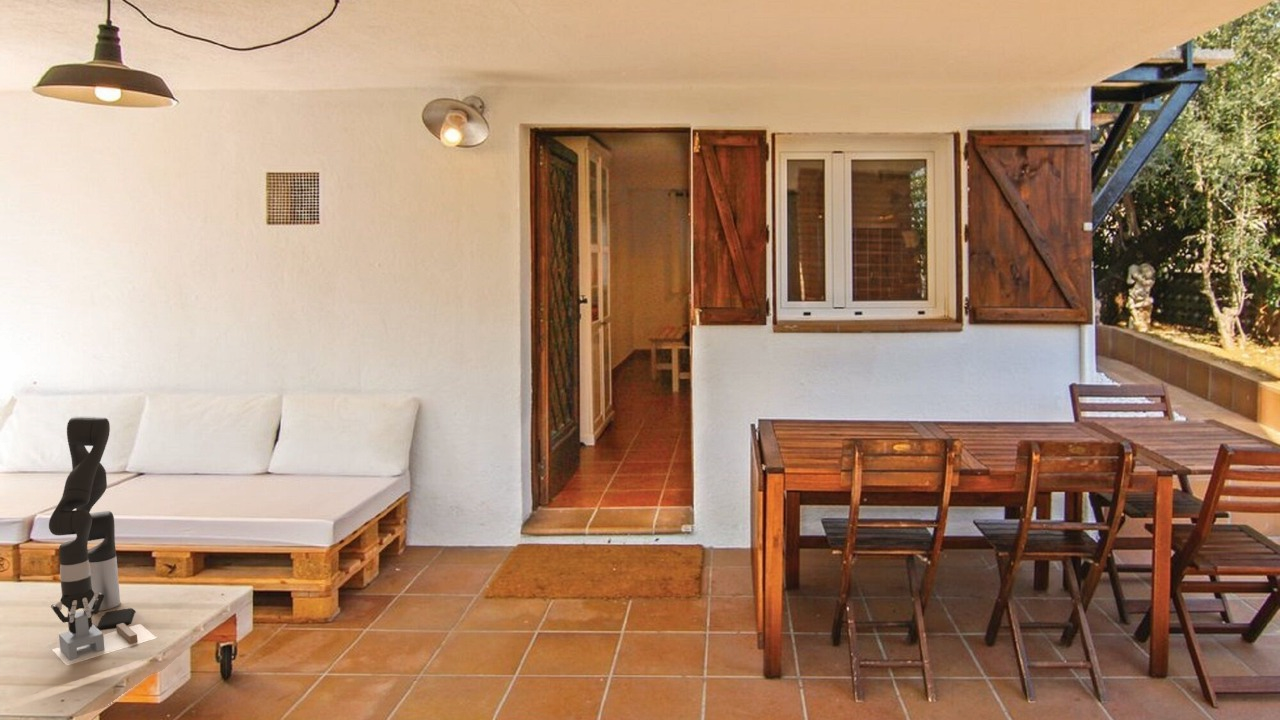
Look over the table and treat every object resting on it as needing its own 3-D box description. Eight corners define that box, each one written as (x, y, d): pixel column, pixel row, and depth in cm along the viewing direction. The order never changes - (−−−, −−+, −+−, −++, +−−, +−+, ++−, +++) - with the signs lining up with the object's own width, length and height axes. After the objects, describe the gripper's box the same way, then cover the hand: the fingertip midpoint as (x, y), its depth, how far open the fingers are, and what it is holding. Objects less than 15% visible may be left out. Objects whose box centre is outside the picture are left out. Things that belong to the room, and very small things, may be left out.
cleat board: (52, 654, 254) (51, 641, 254) (140, 628, 272) (139, 616, 271) (66, 670, 243) (65, 657, 243) (157, 642, 261) (156, 630, 260)
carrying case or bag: (99, 620, 279) (92, 637, 266) (99, 611, 279) (91, 628, 266) (136, 614, 284) (131, 630, 271) (136, 605, 284) (130, 621, 270)
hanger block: (60, 650, 253) (57, 615, 252) (94, 640, 259) (91, 605, 258) (69, 660, 246) (66, 624, 245) (104, 650, 253) (101, 614, 252)
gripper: (98, 566, 258) (103, 620, 260) (44, 579, 248) (49, 635, 250) (106, 572, 253) (111, 627, 255) (51, 585, 243) (56, 642, 244)
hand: (80, 630), depth 252 cm, fingers closed on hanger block, 3 cm apart
